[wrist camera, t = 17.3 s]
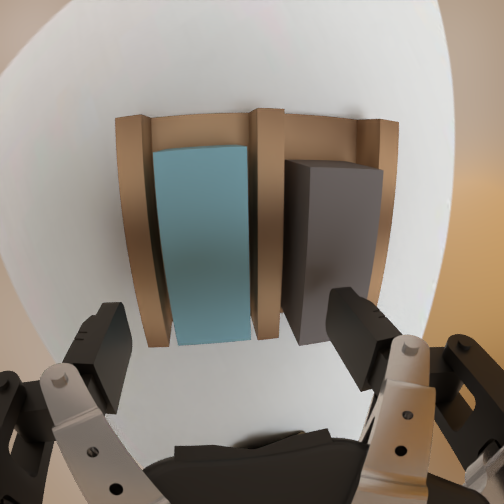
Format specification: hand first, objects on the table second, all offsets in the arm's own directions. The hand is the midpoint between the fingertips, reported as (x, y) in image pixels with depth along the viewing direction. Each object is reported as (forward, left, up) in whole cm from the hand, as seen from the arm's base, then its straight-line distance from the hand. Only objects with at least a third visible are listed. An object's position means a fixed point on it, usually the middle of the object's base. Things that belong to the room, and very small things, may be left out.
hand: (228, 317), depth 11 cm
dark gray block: (+1, -5, -6) cm, 8 cm away
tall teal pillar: (+2, +1, -6) cm, 6 cm away
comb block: (+2, -2, -7) cm, 8 cm away
